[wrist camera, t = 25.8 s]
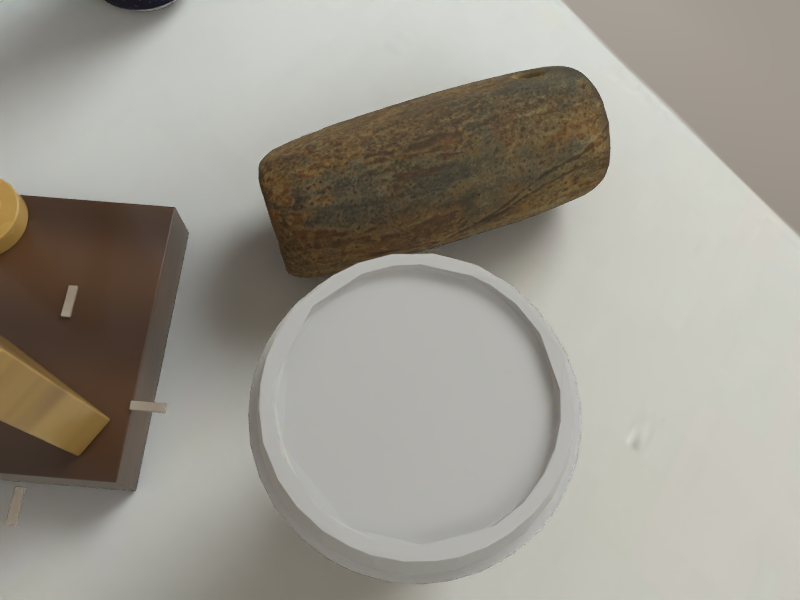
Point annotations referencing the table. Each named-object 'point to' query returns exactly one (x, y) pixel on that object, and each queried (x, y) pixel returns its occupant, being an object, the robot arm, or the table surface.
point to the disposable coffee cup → (415, 419)
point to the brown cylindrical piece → (435, 169)
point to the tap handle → (44, 403)
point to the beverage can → (141, 4)
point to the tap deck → (91, 329)
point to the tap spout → (11, 216)
